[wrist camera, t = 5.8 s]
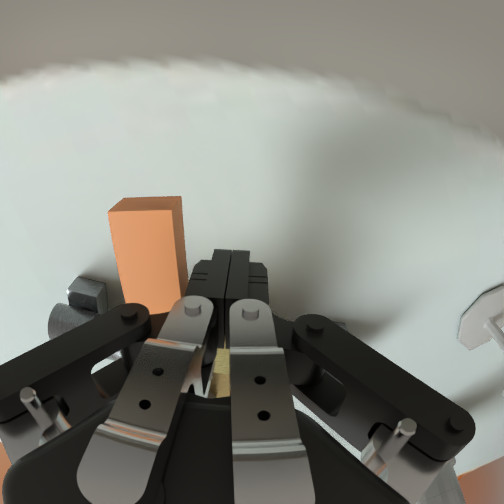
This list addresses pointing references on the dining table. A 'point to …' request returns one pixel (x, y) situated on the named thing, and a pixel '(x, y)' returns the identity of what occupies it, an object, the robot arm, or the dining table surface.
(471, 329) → the wineglass
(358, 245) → the dining table surface
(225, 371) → the valve
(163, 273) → the lever
